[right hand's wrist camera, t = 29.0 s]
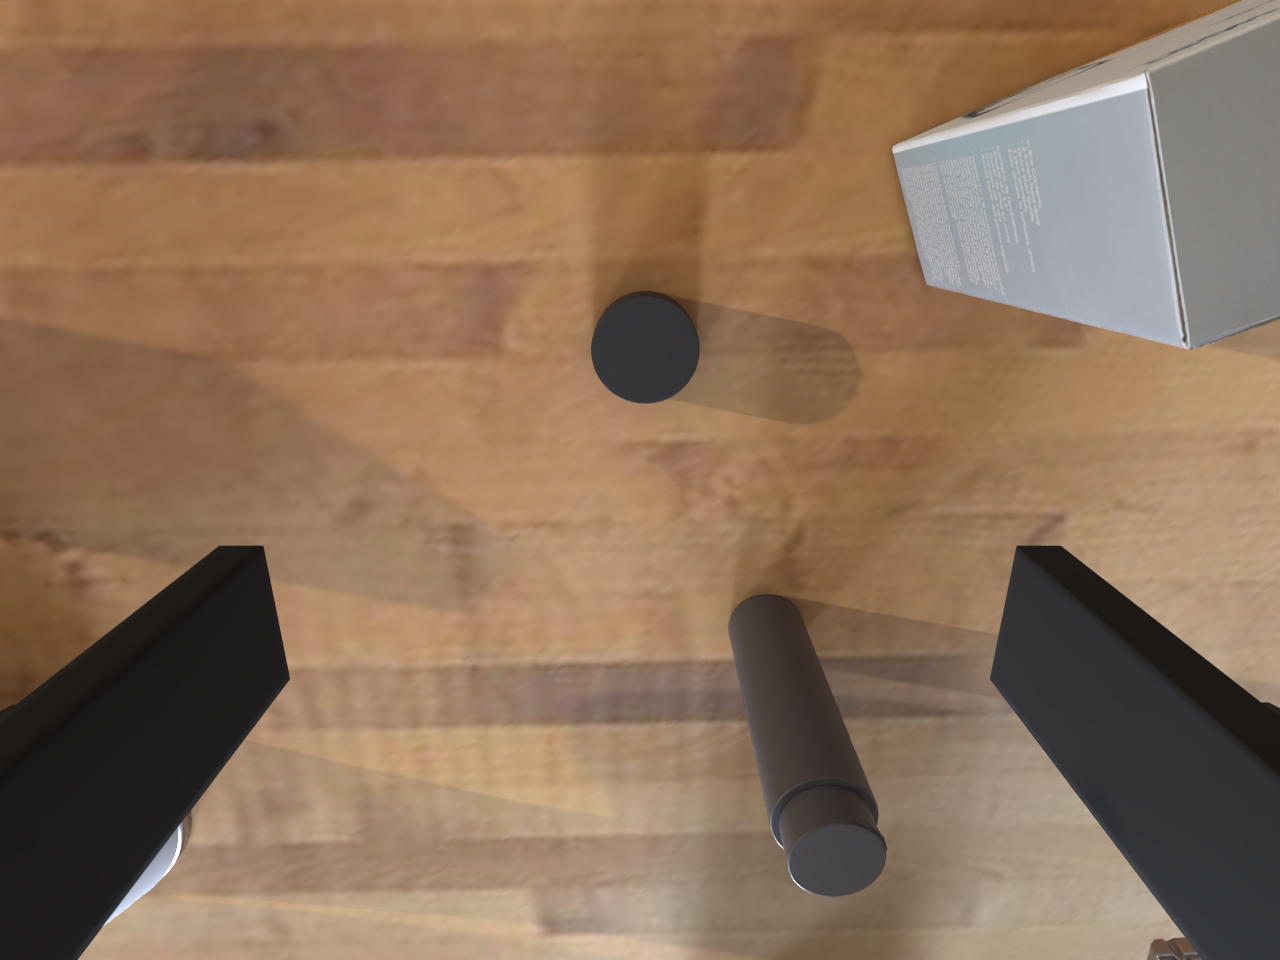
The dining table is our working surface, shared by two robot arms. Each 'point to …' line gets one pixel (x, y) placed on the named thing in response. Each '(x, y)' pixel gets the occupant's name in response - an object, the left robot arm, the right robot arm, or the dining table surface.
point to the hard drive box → (1119, 187)
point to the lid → (645, 347)
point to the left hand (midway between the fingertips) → (1178, 885)
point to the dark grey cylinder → (804, 753)
